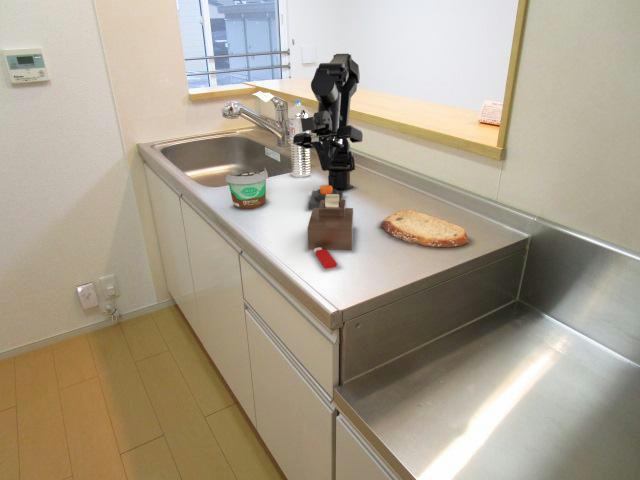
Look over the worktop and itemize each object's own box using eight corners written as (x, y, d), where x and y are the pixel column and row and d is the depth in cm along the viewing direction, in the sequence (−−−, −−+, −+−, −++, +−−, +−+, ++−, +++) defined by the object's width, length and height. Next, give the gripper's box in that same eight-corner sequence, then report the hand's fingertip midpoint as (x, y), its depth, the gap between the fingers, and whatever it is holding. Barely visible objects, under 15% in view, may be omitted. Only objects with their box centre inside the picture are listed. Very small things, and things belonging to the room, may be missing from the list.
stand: (314, 227, 115) (313, 199, 112) (353, 227, 114) (353, 200, 111) (308, 250, 104) (307, 220, 101) (351, 250, 103) (352, 220, 100)
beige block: (326, 203, 111) (326, 194, 110) (339, 203, 110) (339, 194, 109) (325, 208, 108) (325, 198, 107) (338, 208, 107) (338, 199, 106)
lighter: (324, 264, 95) (313, 248, 102) (324, 269, 95) (313, 253, 102) (336, 262, 96) (325, 246, 102) (336, 267, 96) (325, 251, 103)
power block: (313, 196, 136) (312, 185, 134) (342, 196, 135) (342, 185, 133) (308, 210, 126) (308, 198, 124) (341, 210, 125) (340, 198, 124)
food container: (235, 214, 124) (231, 179, 120) (228, 207, 129) (224, 174, 125) (276, 205, 129) (274, 172, 125) (268, 199, 134) (266, 166, 130)
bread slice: (473, 245, 103) (475, 230, 102) (398, 253, 101) (399, 238, 100) (442, 215, 119) (444, 202, 118) (377, 221, 117) (377, 208, 116)
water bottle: (311, 177, 152) (308, 101, 142) (290, 177, 153) (286, 101, 142) (311, 171, 159) (308, 97, 148) (292, 171, 159) (288, 98, 148)
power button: (320, 190, 131) (320, 184, 130) (332, 190, 130) (332, 184, 130) (319, 195, 128) (319, 189, 127) (332, 195, 127) (331, 189, 126)
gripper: (281, 107, 116) (276, 166, 115) (339, 93, 104) (335, 160, 103) (308, 119, 125) (304, 175, 124) (365, 109, 113) (361, 170, 112)
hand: (324, 170), depth 116 cm, fingers closed
